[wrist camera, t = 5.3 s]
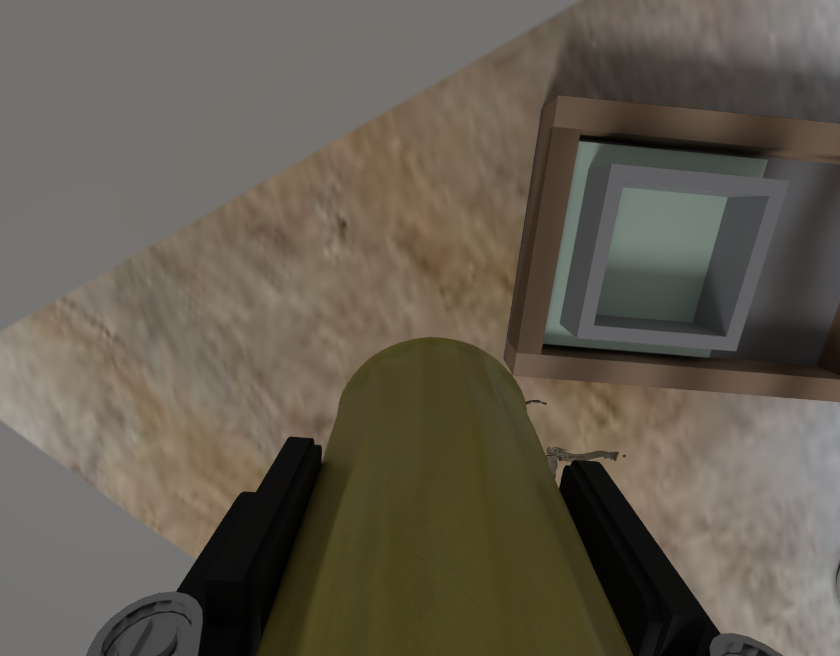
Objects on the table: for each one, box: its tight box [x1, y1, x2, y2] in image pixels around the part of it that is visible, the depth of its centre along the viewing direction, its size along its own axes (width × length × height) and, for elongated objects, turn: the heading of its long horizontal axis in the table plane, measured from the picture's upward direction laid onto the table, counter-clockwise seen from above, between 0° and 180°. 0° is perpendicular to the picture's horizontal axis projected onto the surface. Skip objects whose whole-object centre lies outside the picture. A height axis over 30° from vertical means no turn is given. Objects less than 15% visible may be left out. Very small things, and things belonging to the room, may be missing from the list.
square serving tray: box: [543, 141, 789, 358], centre depth 24 cm, size 11×12×4 cm
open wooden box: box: [504, 95, 840, 402], centre depth 26 cm, size 23×16×3 cm
